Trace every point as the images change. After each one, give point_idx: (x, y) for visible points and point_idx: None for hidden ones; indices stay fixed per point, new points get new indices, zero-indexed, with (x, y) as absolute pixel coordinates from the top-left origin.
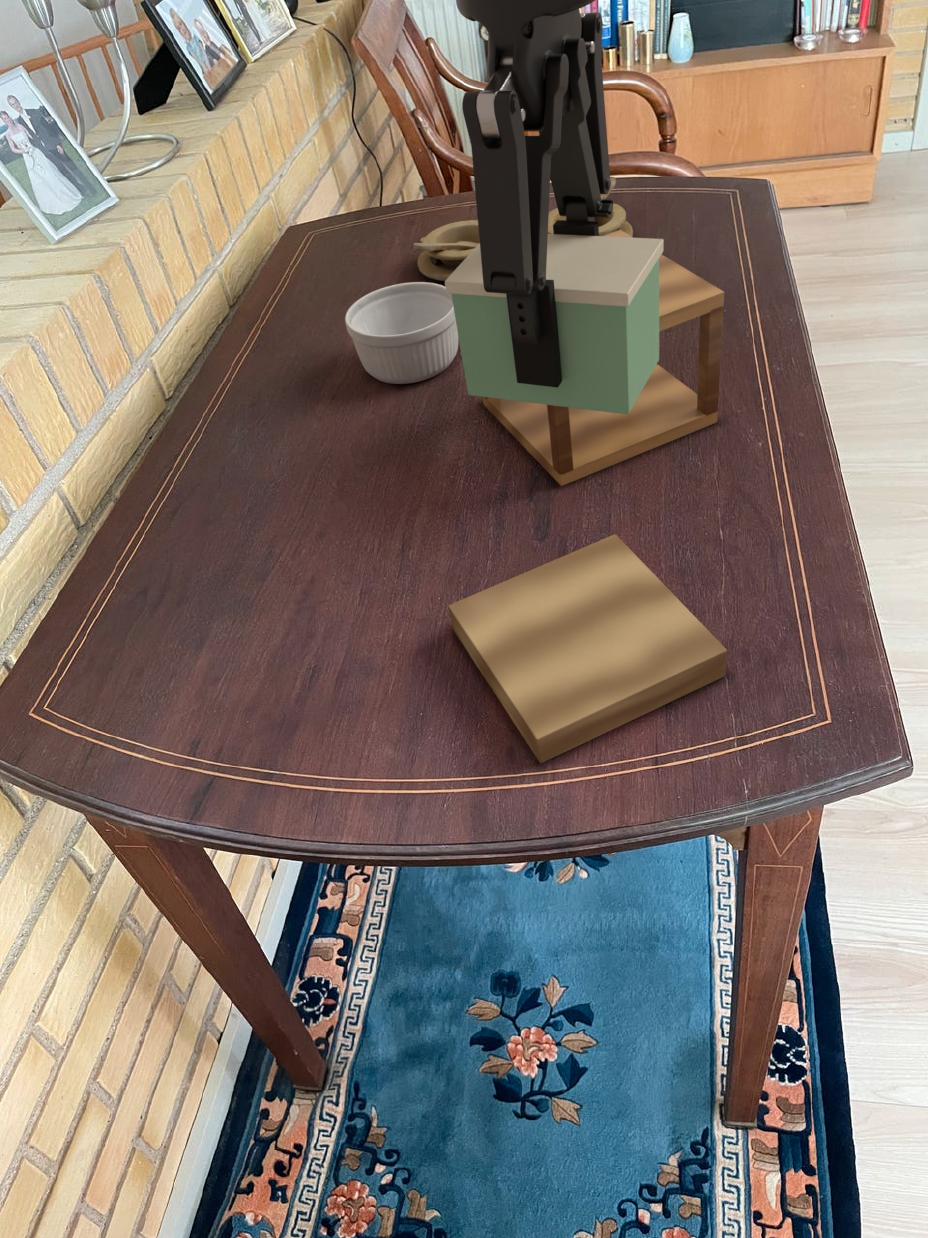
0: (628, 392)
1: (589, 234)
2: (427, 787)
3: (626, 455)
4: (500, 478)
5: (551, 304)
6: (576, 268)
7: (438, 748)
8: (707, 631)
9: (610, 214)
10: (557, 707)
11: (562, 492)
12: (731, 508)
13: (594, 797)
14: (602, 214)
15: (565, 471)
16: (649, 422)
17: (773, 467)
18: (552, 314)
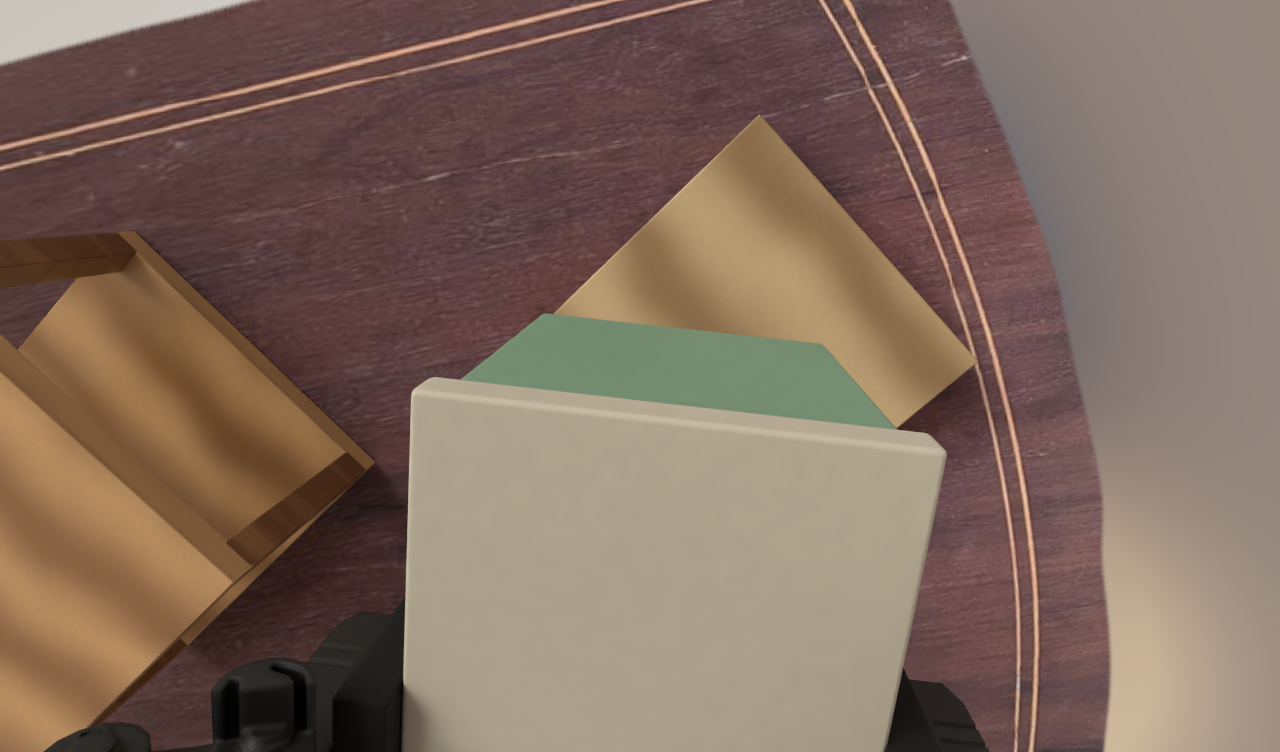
0: (832, 357)
1: (399, 703)
2: (1016, 485)
3: (275, 372)
4: (377, 563)
5: (920, 720)
6: (706, 696)
7: (950, 491)
8: (723, 152)
9: (280, 663)
10: (915, 347)
11: (390, 456)
12: (367, 169)
13: (1002, 264)
14: (314, 700)
15: (356, 464)
16: (185, 350)
17: (239, 111)
18: (903, 692)
